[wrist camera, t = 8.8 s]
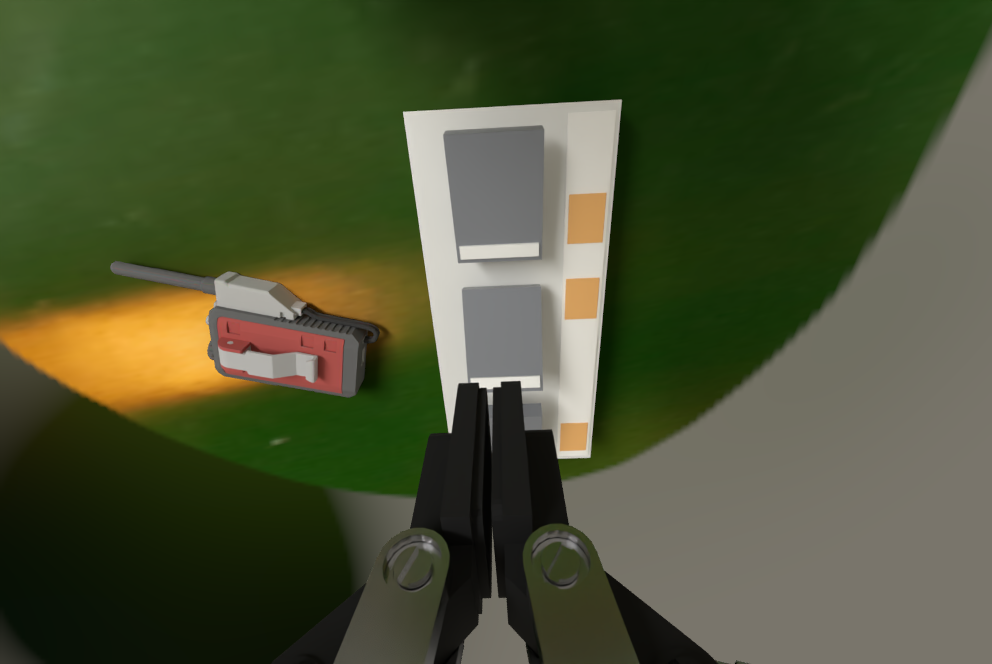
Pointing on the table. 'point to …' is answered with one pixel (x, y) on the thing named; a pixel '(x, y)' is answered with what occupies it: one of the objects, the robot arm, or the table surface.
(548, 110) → the switch unit
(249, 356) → the walkie-talkie
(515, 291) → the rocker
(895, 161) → the table surface
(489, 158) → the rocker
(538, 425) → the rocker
